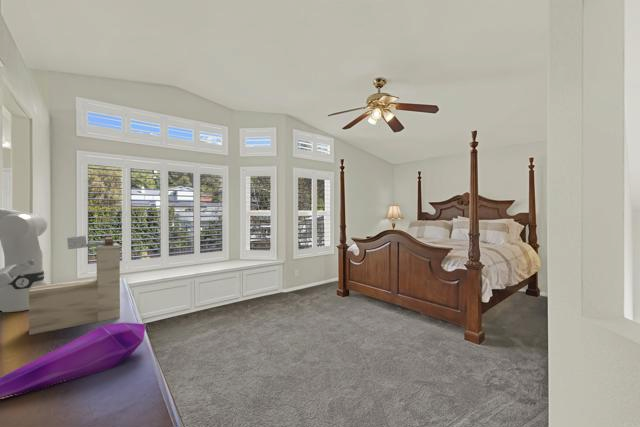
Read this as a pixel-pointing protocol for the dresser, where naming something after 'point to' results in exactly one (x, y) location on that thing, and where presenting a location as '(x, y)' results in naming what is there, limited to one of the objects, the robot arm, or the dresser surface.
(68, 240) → the steel link
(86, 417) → the dresser surface
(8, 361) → the dresser surface
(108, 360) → the crystal
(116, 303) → the maple stand
